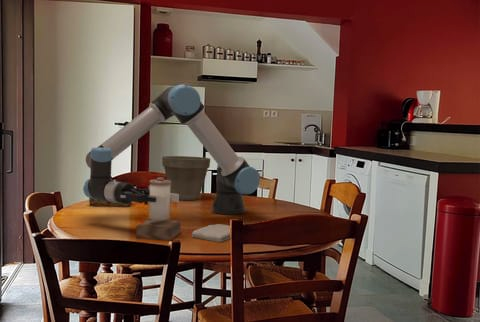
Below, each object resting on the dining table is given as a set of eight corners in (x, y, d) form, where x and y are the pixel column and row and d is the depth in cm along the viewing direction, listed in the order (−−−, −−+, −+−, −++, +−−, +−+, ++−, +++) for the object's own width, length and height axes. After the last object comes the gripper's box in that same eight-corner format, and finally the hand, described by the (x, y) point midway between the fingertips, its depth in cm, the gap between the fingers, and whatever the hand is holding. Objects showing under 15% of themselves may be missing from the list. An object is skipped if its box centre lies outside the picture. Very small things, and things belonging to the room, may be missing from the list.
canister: (172, 216, 167) (173, 177, 166) (166, 220, 160) (167, 179, 159) (152, 215, 168) (153, 176, 167) (145, 219, 161) (146, 178, 160)
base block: (180, 232, 170) (180, 220, 170) (170, 240, 158) (171, 227, 158) (148, 230, 171) (148, 218, 171) (136, 237, 160) (136, 225, 159)
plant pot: (185, 193, 265) (187, 154, 263) (218, 199, 249) (220, 158, 248) (151, 197, 245) (152, 155, 244) (184, 204, 230) (185, 159, 228)
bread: (132, 203, 226) (133, 183, 225) (130, 207, 215) (130, 186, 214) (92, 203, 223) (93, 182, 223) (88, 207, 213) (88, 185, 212)
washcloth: (245, 234, 173) (245, 226, 173) (221, 244, 157) (221, 235, 157) (217, 229, 179) (217, 221, 178) (191, 239, 163) (191, 230, 163)
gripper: (100, 184, 163) (153, 191, 152) (138, 180, 181) (188, 185, 170) (100, 206, 164) (152, 214, 153) (137, 199, 181) (187, 206, 170)
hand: (171, 199), depth 161 cm, fingers closed on canister, 7 cm apart
